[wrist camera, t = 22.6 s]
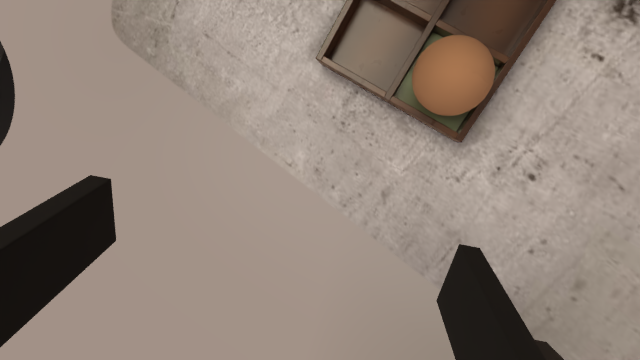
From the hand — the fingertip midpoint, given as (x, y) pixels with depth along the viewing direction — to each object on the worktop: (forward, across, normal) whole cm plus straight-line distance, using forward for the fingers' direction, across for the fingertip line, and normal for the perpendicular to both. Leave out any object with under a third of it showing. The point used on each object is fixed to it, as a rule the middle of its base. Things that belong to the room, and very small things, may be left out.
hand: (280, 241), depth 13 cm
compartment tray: (+26, +9, +9) cm, 29 cm away
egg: (+24, +11, +4) cm, 27 cm away
